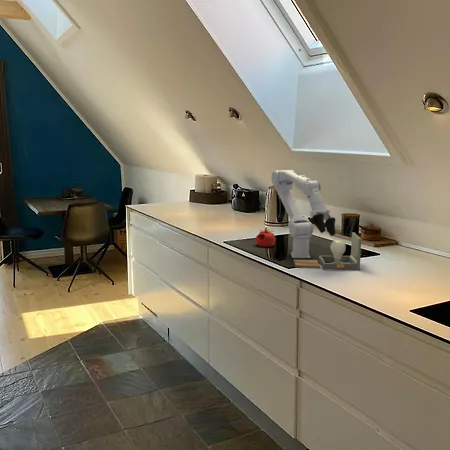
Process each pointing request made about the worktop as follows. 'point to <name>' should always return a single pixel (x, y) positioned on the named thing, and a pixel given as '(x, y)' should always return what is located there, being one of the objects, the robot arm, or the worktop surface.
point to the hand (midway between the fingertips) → (328, 233)
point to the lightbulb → (338, 250)
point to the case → (345, 257)
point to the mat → (306, 264)
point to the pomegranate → (265, 238)
